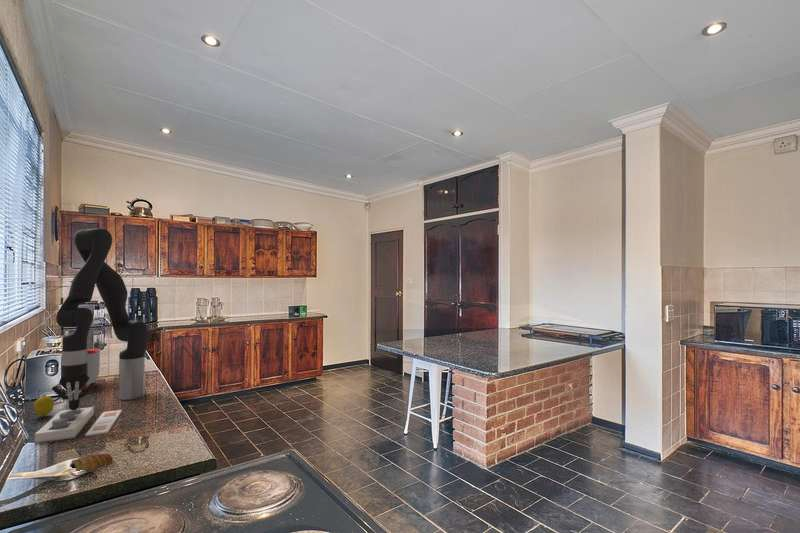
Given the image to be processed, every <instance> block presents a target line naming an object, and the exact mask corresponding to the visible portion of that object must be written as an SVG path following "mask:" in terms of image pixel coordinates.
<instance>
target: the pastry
mask: <svg viewBox="0 0 800 533" xmlns="http://www.w3.org/2000/svg"><path fill="white" fill-rule="evenodd" d="M111 462H112V463H113V457H112V454H111V453H109V454H108V453H102V454H100V453H95V454H86V455H85V456H80V457H77V458H76V459H73V460H71V462H70V464H69V466H70V467H72V468H76V471H80V470H85V471H86V473H87V474H88V473H93V472H92V471H94V470H96V469H98V468H101V467H103V466H105V465H107V466H109V465H110V464H111ZM108 464H109V465H108ZM105 467H106V466H105ZM103 468H104V467H103ZM101 469H102V468H101ZM98 470H99V469H98ZM96 471H97V470H96ZM94 472H95V471H94Z"/></svg>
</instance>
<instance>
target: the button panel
mask: <svg viewBox="0 0 800 533" xmlns="http://www.w3.org/2000/svg"><path fill="white" fill-rule="evenodd" d="M79 409H81V413H80V414H75V416H74V421H68V427H67V428H61V429H54V430H52V421H54V420H56V419H60V414H61V413H64V412H67V411H69V410H70V409H66V410H60V411H58V413H56V415H54V416H53V417H52V418H51V419H50V420H48V421H47V423H45V424H44V425H43V426H42V427H41V428H40V429H39V430H37V432H35V433H34V444H40V443H41V444H42V443H47V442H48V443H49V442H53V441H55V442H56V441H62V440H68V439H75V438H76V437H77V435H78V434H79V433H80V432H81V431H82V429H83V428H84V427H85V426H86V425H87V423H88V422H89V421H90V420H91V419H92V418H93V417H94V415H95V411H94V410H95V407H94V406H89V407H82V408H80V407H79Z"/></svg>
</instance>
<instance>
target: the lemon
mask: <svg viewBox="0 0 800 533" xmlns="http://www.w3.org/2000/svg"><path fill="white" fill-rule="evenodd" d="M54 405H55V404H54V399H53V398H52V397H51V396H48V395H42V396H40V397H39V398H38V399H36V400H35V403H34V405H33V410H34V413H35V414H36V415H37V416H41V417H43V418H44V417H46V416H47V415H48V414H50V413H52V411H53V409H54Z"/></svg>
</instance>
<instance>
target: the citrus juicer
mask: <svg viewBox="0 0 800 533" xmlns="http://www.w3.org/2000/svg"><path fill="white" fill-rule="evenodd" d="M87 353H88V377H89V380H91V381H95V382H96V383H97V381H98V377H99V374H100V362H101V360H100V359H101V358H100V357H101V349H99V348H87ZM94 386H96V384H95V385H94ZM94 386H93V387H94ZM86 388H87V383H86V384H85V385H84V387H83V388H81V391H85V389H86Z"/></svg>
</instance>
